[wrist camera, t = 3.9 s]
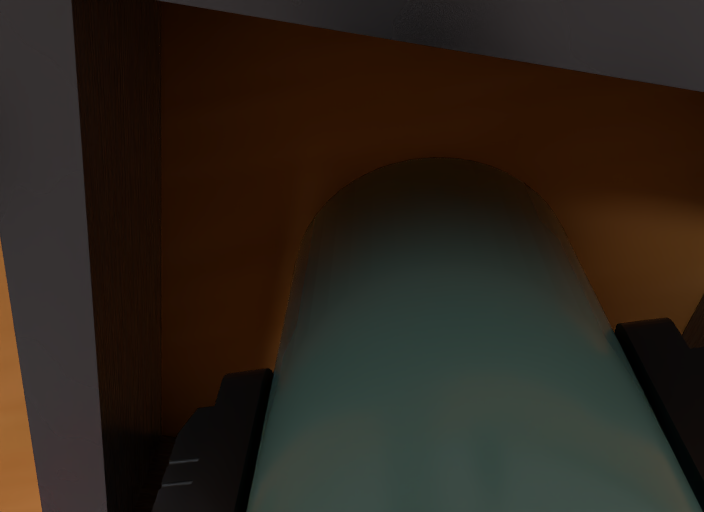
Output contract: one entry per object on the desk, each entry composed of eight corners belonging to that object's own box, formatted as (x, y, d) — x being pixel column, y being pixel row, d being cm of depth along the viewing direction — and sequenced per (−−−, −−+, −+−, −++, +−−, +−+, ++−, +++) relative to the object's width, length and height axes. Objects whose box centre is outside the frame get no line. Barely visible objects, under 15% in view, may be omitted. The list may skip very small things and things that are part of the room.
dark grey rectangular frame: (76, -158, 9) (-62, -163, 6) (945, -2, 10) (1180, 59, 7) (113, 462, 16) (55, 596, 14) (624, 528, 17) (676, 669, 14)
